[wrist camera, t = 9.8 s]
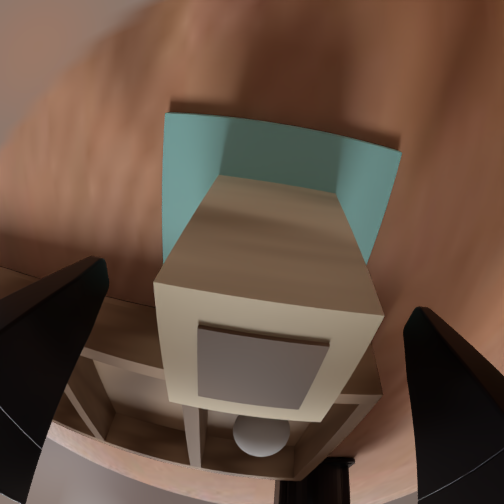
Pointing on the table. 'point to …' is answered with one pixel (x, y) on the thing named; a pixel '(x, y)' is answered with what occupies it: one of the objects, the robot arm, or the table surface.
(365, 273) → the block with dark square
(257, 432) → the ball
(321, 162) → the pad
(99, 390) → the caddy
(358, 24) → the table surface
